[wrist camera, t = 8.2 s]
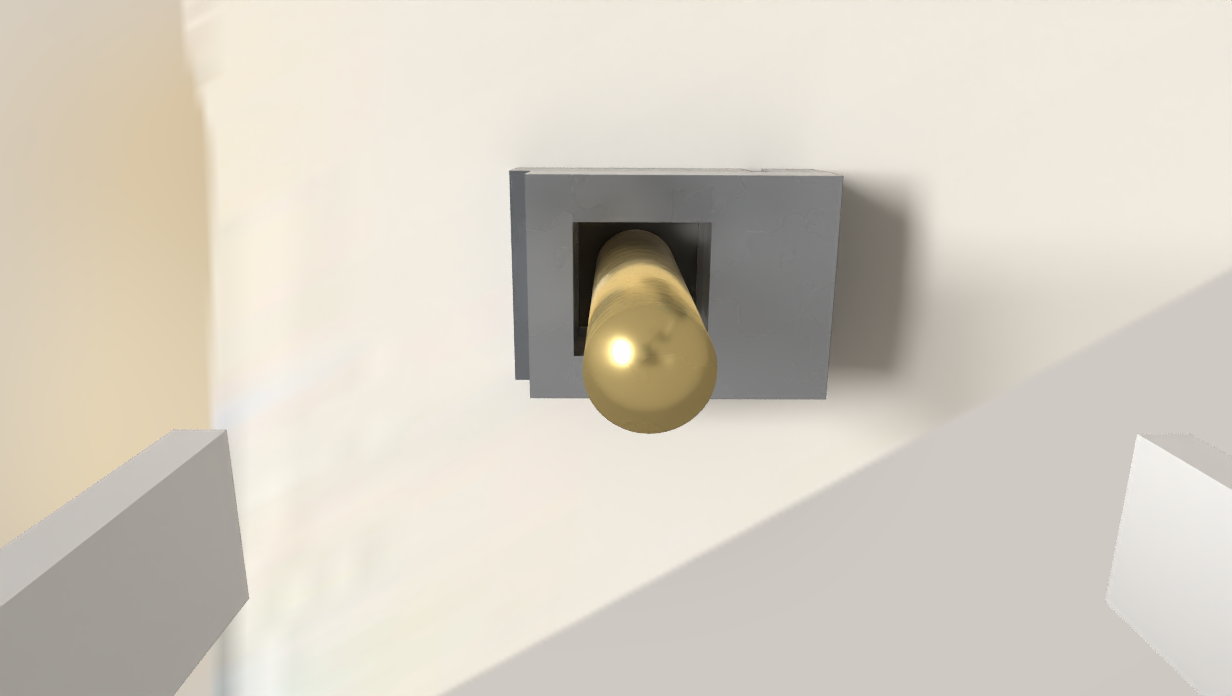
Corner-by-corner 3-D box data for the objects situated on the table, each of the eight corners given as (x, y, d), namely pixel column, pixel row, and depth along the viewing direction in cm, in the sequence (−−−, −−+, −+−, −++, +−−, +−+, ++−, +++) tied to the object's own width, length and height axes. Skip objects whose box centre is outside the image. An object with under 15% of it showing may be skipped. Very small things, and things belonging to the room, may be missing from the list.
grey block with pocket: (521, 363, 34) (508, 398, 29) (516, 167, 31) (501, 174, 27) (799, 364, 34) (825, 399, 29) (812, 169, 31) (843, 175, 27)
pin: (676, 229, 32) (720, 304, 19) (673, 307, 33) (715, 433, 19) (595, 229, 32) (581, 303, 19) (596, 307, 33) (582, 433, 19)
